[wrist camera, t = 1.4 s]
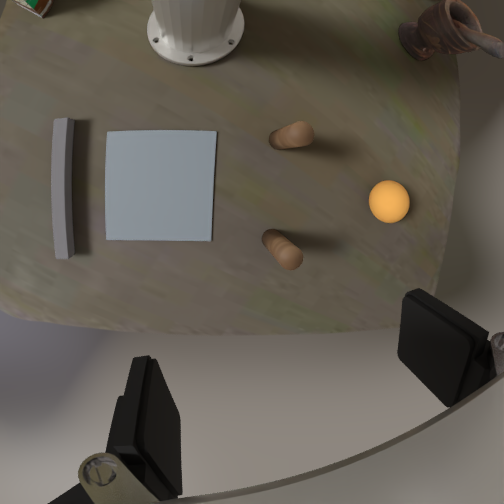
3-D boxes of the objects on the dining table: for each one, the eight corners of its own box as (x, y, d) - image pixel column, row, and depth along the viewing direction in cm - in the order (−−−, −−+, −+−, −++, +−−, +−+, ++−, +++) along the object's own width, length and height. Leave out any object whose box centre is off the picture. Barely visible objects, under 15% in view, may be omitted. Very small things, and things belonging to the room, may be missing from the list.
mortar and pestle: (438, 84, 38) (528, 71, 19) (402, 76, 37) (498, 51, 18) (426, 27, 35) (506, -1, 16) (389, 16, 34) (471, -26, 15)
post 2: (262, 228, 40) (281, 246, 32) (281, 229, 41) (304, 246, 32) (261, 247, 41) (278, 270, 32) (279, 248, 41) (301, 270, 33)
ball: (363, 176, 41) (386, 179, 35) (395, 181, 42) (420, 185, 36) (359, 217, 42) (381, 225, 36) (390, 219, 43) (414, 228, 38)
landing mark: (107, 131, 33) (107, 131, 33) (216, 131, 35) (216, 131, 35) (106, 239, 37) (106, 239, 36) (211, 240, 39) (211, 241, 39)
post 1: (269, 129, 36) (290, 119, 28) (289, 131, 37) (314, 123, 28) (268, 148, 37) (289, 144, 29) (287, 150, 38) (313, 147, 29)
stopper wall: (61, 121, 31) (54, 119, 29) (74, 119, 31) (67, 117, 29) (62, 253, 36) (55, 258, 33) (75, 253, 36) (68, 259, 34)
